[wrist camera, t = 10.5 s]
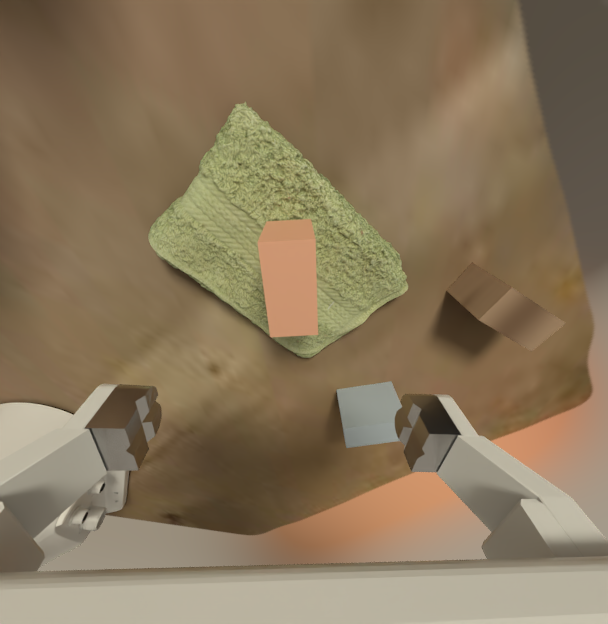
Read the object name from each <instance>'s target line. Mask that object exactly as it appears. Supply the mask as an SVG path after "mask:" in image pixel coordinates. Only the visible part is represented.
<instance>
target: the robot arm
mask: <svg viewBox="0 0 608 624" xmlns="http://www.w3.org/2000/svg"><path fill="white" fill-rule="evenodd" d="M157 396H158V393H157V389H156V387H154V386H140V385H122V384H120V385H116V384H102V385H100V386H98V387H97V388H96V389H95V390H94V391H93V393H92V394H91V395H90V396H89V397H88V399H87V400H86V401H85V402H84V403H83V404H82V406H81V407H80V408H79V409H78V410H77V412H76V413H75V414H74V415H73V414H71V413H68V412H65V411H63V410H60V409H57V408H53V407H49V406H45V405H40V404H33V403H5V404H0V624H608V541H607V540H606V538H605V537H604V536H603V535H602V533H601V532H600V531H599V530H598V529H597V527H596V526H595V525H594V524H593V523H592V522H591V520H590V519H589V518H588V517H587V516H586V514H585V513H584V512H583V511H582V510H581V508H580V507H579V506H578V505H577V504H576V502H575V501H574V500H573V499H572V498H571V497H570V496H568V495H567V494H566V493H564V492H562V491H561V490H560V489H558V488H557V487H555V486H554V485H552V484H551V483H550V482H548V481H547V480H545V479H544V478H543V477H541V476H540V475H538V474H537V473H535V472H534V471H533V470H531V469H530V468H528V467H527V466H525V465H524V464H522V463H521V462H520V461H518V460H517V459H515V458H514V457H512V456H511V455H510V454H508V453H507V452H505V451H504V450H502V449H501V448H500V447H498V446H497V445H495V444H494V443H492V442H491V441H489V440H488V439H487V438H485V437H484V436H478V434H477V433H476V431H475V430H474V429H473V427H472V426H471V424H470V423H469V421H468V420H467V419H466V417H465V416H464V414H463V413H462V411H461V410H460V409H459V407H458V406H457V404H456V403H455V401H454V400H453V399H452V397H450V396H449V395H431V394H405V395H404V396H402V399H401V401H400V402H401V405H402V408H400V409H399V410H398V411H397V412H396V415H395V430H396V434H397V437H398V439H399V440H400V441H401V442H402V443H403V444H404V445H405V449H404V454H405V457H406V459H407V462H408V464H409V467H410V469H411V471H412V472H437V474H438V476H439V477H440V478H441V479H442V480H443V481H444V482H445V483H446V484H447V485H448V486H449V487H450V488H451V489H452V490H453V492H454V493H455V494H456V495H457V496H458V497H459V498H460V499H461V500H462V501H463V502H464V503H465V504H466V505H467V506H468V507H469V508H470V510H472V512H473V513H474V514H475V515H476V516H477V517H478V518H479V519H480V520H481V521H482V522H483V523H484V524H485V525H486V526H487V527H488V529H489V530H490V531H491V532H492V533H491V534H490V535H489V536H488V537H487V539H486V540H485V541H484V542H483V545H482V549H483V552H484V554H485V556H486V558H487V559H483V560H482V559H480V560H443V561H406V562H372V563H371V562H368V563H331V564H296V565H295V564H293V565H257V566H256V565H254V566H216V567H181V568H180V567H179V568H144V569H105V570H71V571H70V570H68V571H37V570H38V568H40V567H41V566H43V565H45V564H47V563H48V562H50V561H52V560H54V559H56V558H57V557H59V556H61V555H63V554H65V553H67V552H69V551H71V550H73V549H75V548H76V547H78V546H79V545H81V544H82V543H83V542H84V540H85V539H86V538H87V536H88V534H89V533H90V531H95V530H97V529H98V528H99V527H100V525H101V524H102V522H103V520H104V517H105V515H106V513H110V512H115V511H118V510H121V509H122V508H123V506H124V504H125V503H126V498H127V488H128V478H129V470H139V468H140V466H141V464H142V462H143V460H144V458H145V456H146V454H147V452H148V450H149V448H148V444H147V442H148V441H149V440H150V439H152V438H153V437H154V436H155V435H156V433H157V431H158V429H159V426H160V421H161V406H160V404H158V403H157V402H156V401H155V400H156V398H157Z"/></svg>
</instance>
